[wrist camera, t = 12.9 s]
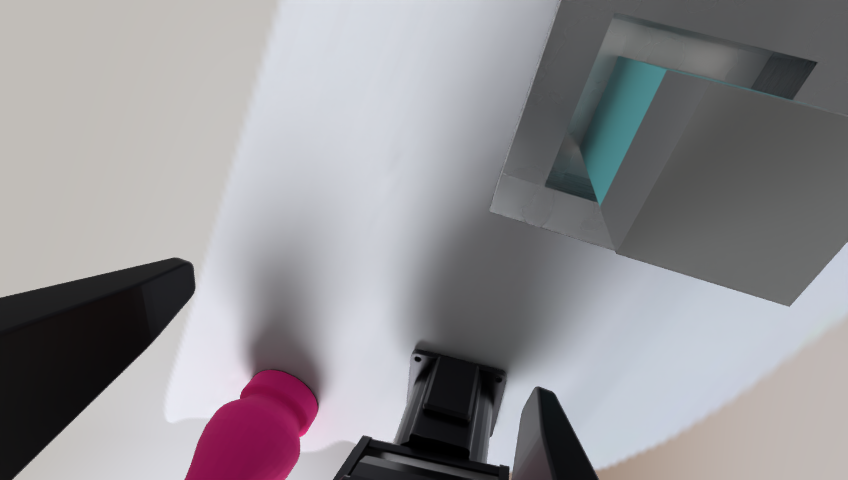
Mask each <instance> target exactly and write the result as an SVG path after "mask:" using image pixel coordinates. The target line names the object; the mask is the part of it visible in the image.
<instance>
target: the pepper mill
mask: <svg viewBox="0 0 848 480" xmlns="http://www.w3.org/2000/svg"><path fill="white" fill-rule="evenodd" d="M317 411H318V405H317V402H316V398H315V397H314V395H313V393H312V392H311V390H310V389H309V388H308V387H307V386H306V385H305V384H304V383H303V382H301V381H300V380H299V379H297V378H295V377H294V376H292V375H290V374H287V373H285V372H281V371H278V370H266V371H261V372H259V373H257V374H256V375H255V376H254V377H253V378H252V379H251V381H250V382H249V383H248V384H247V385H246V387H245V388H244V389H243V390H242V392H241V395H240V399H238V400H235V401H231V402H229V403H227V404H225V405H223V406H222V407H221V408H219V409H218V410H217V411H216V413H215V414H214V415H213V417H212V418H211V419H210V421H209V422H208V424H207V425H206V427H205V429H204V431H203V433H202V435H201V437H200V439H199V441H198V444H197V447H196V450H195V453H194V456H193V459H192V463H191V465H190V468H189V470H188V473H187V475H186V478H185V480H285V479H286V478H287V476H288V475H289V473H290V472H291V470H292V469H293V467H294V466H295V464H296V463H297V461H298V458H299V455H300V438H299V437H301V436H303V435H304V434H305V433H306V432H307V431H308V429H309V427H310V426H311V424H312V422H313V421H314V419H315V417H316V415H317Z"/></svg>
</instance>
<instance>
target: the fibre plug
mask: <svg viewBox="0 0 848 480" xmlns="http://www.w3.org/2000/svg"><path fill="white" fill-rule="evenodd" d="M580 152H581V155H582V158H583V161H584V163H585V166H586V169H587V172H588V175H589V178H590V180H591V183H592V186H593V189H594V192H595V195H596V198H597V200H598V203H599V206H600V209H601V212H602V215H603V217H604V220H605V223H606V226H607V229H608V232H609V235H610V237H611V240H612V243H613V246H614V249H615V252H616V254H619V255H622V256H626V257H629V258H632V259H635V260H639V261H642V262H645V263H648V264H652V265H655V266H658V267H662V268H665V269H668V270H671V271H675V272H678V273H681V274H684V275H688V276H691V277H694V278H697V279H701V280H704V281H707V282H710V283H714V284H717V285H720V286H724V287H727V288H730V289H733V290H737V291H740V292H743V293H746V294H750V295H753V296H756V297H759V298H763V299H766V300H769V301H772V302H776V303H779V304H782V305H785V306H789V307H790V305H791V304H792V303H793V302H794V301H795V300H796V299H797V298H798V297H799V295H800V294H801V293H802V292H803V291H804V290H805V289H806V288H807V286H808V285H809V284H810V283H811V282H812V281H813V280H814V279H815V278H816V276H817V275H818V274H819V273H820V272H821V271H822V270H823V269H824V267H825V266H826V265H827V264H828V263H829V262H830V261H831V260H832V258H833V257H834V256H835V255H836V254H837V253H838V252H839V251H840V250H841V248H842V247H843V246H844V245H845V244H846V243H847V242H848V115H846V114H842V113H838V112H834V111H831V110H827V109H823V108H820V107H816V106H812V105H808V104H805V103H801V102H797V101H793V100H790V99H786V98H782V97H778V96H775V95H771V94H767V93H764V92H760V91H756V90H752V89H749V88H745V87H741V86H737V85H734V84H730V83H726V82H722V81H719V80H715V79H711V78H707V77H703V76H699V75H695V74H690V73H686V72H682V71H678V70H674V69H670V68H666V67H662V66H658V65H654V64H650V63H646V62H642V61H638V60H634V59H630V58H626V57H622V56H619V57H618V60H617V62H616V64H615V67H614V69H613V71H612V74H611V76H610V78H609V81H608V83H607V86H606V88H605V90H604V93H603V95H602V97H601V100H600V102H599V104H598V107H597V109H596V111H595V114H594V116H593V118H592V121H591V123H590V126H589V128H588V130H587V133H586V135H585V137H584V140H583V142H582V144H581V147H580Z"/></svg>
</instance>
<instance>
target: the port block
mask: <svg viewBox="0 0 848 480" xmlns="http://www.w3.org/2000/svg"><path fill="white" fill-rule="evenodd" d="M619 56H622V57H626V58H630V59H634V60H638V61H642V62H646V63H650V64H654V65H658V66H662V67H666V68H670V69H674V70H678V71H682V72H686V73H690V74H695V75H699V76H703V77H707V78H711V79H715V80H719V81H722V82H726V83H730V84H734V85H737V86H741V87H745V88H749V89H752V90H756V91H760V92H764V93H767V94H771V95H775V96H778V97H782V98H786V99H790V100H793V101H797V102H801V103H805V104H808V105H812V106H816V107H820V108H823V109H827V110H831V111H834V112H838V113H842V114H846V115H848V0H559V2H558V5H557V8H556V11H555V13H554V16H553V19H552V22H551V25H550V28H549V31H548V34H547V37H546V40H545V43H544V46H543V49H542V52H541V55H540V58H539V61H538V64H537V67H536V70H535V73H534V75H533V78H532V81H531V84H530V87H529V90H528V93H527V96H526V99H525V102H524V105H523V108H522V111H521V114H520V117H519V120H518V123H517V126H516V129H515V132H514V135H513V137H512V140H511V143H510V146H509V149H508V152H507V155H506V158H505V161H504V164H503V167H502V170H501V173H500V176H499V179H498V182H497V185H496V188H495V192H494V196H493V199H492V203H491V207H490V210H489V212H493V213H496V214H499V215H502V216H505V217H509V218H512V219H515V220H518V221H521V222H525V223H528V224H531V225H534V226H537V227H541V228H544V229H547V230H550V231H553V232H557V233H560V234H563V235H566V236H569V237H573V238H576V239H579V240H582V241H585V242H589V243H592V244H595V245H598V246H601V247H605V248H608V249H611V250H614V251H615V249H614V246H613V243H612V240H611V237H610V235H609V232H608V229H607V226H606V223H605V220H604V217H603V215H602V212H601V209H600V206H599V203H598V200H597V198H596V195H595V192H594V189H593V186H592V183H591V180H590V178H589V175H588V172H587V169H586V166H585V163H584V161H583V158H582V155H581V152H580V147H581V144H582V142H583V140H584V137H585V135H586V133H587V130H588V128H589V126H590V123H591V121H592V118H593V116H594V114H595V111H596V109H597V107H598V104H599V102H600V100H601V97H602V95H603V93H604V90H605V88H606V86H607V83H608V81H609V78H610V76H611V74H612V71H613V69H614V67H615V64H616V62H617V60H618V57H619Z"/></svg>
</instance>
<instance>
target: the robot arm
mask: <svg viewBox="0 0 848 480" xmlns="http://www.w3.org/2000/svg"><path fill="white" fill-rule="evenodd" d="M194 291H195V277H194V267H193V265H192V263H191V262H189V261H186V260H183V259H180V258H170V259H166V260H162V261H158V262H153V263H149V264H145V265H140V266H136V267H132V268H127V269H123V270H118V271H114V272H110V273H105V274H101V275H97V276H92V277H88V278H84V279H79V280H75V281H71V282H66V283H62V284H58V285H54V286H49V287H45V288H40V289H36V290H32V291H28V292H23V293H19V294H14V295H10V296H6V297H1V298H0V480H12V479H14V477H16V476H17V475H18V474H19V473H20V472H21V471H22V470H23V469H24V468H25V467H26V466H27V465H28V464H29V463H30V462H31V461H32V460H33V459H34V458H35V457H36V456H37V455H38V454H39V453H40V452H41V451H42V450H43V449H44V448H45V447H46V446H47V445H48V444H49V443H50V442H51V441H52V440H53V439H54V438H56V437H57V436H58V434H60V433H61V432H62V431H63V430H64V429H65V428H66V427H67V426H68V425H69V424H70V423H71V422H72V421H73V420H74V419H75V418H76V417H77V416H78V415H79V414H80V413H81V412H82V411H83V410H84V409H85V408H86V407H87V406H88V405H89V404H90V403H91V402H92V401H93V400H94V399H96V398H97V397H98V395H100V394H101V393H102V392H103V391H104V390H105V388H107V387H108V386H109V385H110V384H111V383H112V382H113V381H114V380H115V379H116V378H117V377H118V376H119V375H120V374H121V373H122V372H123V371H124V370H125V369H126V368H127V367H128V366H129V365H130V364H131V363H132V362H133V361H134V360H135V359H136V358H137V357H138V356H140V355H141V354H142V353H143V352H144V351H145V350H146V349H147V347H148V346H150V344H151V343H152V342H153V341H154V340H155V339H156V338H157V337H158V336H159V335H160V334H161V332H162V331H163V330H164V329H165V328H166V326H167V325H168V324H169V323H170V322H171V320H172V319H173V318H174V317H175V316H176V315H177V313H178V312H179V311H180V309H182V308H183V306H184V305H185V304H186V303H187V302H188V300H189V299H190V298H191V297H192V295H193V294H194ZM417 356H418V357H420V358H418V357H417ZM497 377H500V378H497ZM506 378H507V375H506V373H505V372H504V371H502V370H499V369H495V368H491V367H487V366H483V365H479V364H475V363H471V362H467V361H463V360H459V359H455V358H451V357H447V356H443V355H439V354H435V353H431V352H427V351H423V350H414V351H413V353H412V355H411V360H410V371H409V383H408V394H407V405H406V408H405V411H404V414H403V417H402V419H401V422H400V425H399V428H398V431H397V434H396V436H395V439H394V442H393V443H389V442H384V441H379V440H375V439H372V437H368V436H364V435H363V436H362V438H361V439H360V441H359V442H358V444H357V445H356V446H355V447H354V449H353V450H352V452H351V453H350V455H349V456H348V458H347V459H346V461H345V462H344V464H343V465H342V467H341V468H340V470H339V471H338V473H337V474H336V476H335V477H334V479H333V480H509V466H504V465H500V466H496V465H491V464H486V463H487V454H488V446H489V438H490V437H491V436H492V434H493V430H494V427H495V423H496V419H497V415H498V411H499V407H500V403H501V400H502V396H503V392H504V388H505V384H506ZM512 480H599V478H598V476H597V474H596V472H595V471H594V469H593V467H592V465H591V463H590V461H589V459H588V457H587V455H586V453H585V451H584V449H583V447H582V445H581V443H580V441H579V439H578V438H577V436H576V434H575V432H574V430H573V428H572V426H571V424H570V422H569V420H568V418H567V416H566V414H565V412H564V410H563V408H562V407H561V405H560V403H559V401H558V399H557V397H556V395H555V394H554V393H553V392H552V391H550V390H547V389H544V388H541V387H535V388H534V390H533V391H532V393H531V395H530V397H529V399H528V400H527V402H526V404H525V406H524V408H523V411H522V414H521V419H520V426H519V432H518V439H517V446H516V452H515V459H514V466H513V473H512Z"/></svg>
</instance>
